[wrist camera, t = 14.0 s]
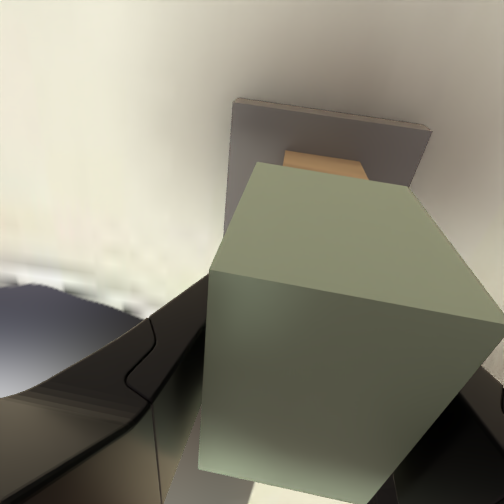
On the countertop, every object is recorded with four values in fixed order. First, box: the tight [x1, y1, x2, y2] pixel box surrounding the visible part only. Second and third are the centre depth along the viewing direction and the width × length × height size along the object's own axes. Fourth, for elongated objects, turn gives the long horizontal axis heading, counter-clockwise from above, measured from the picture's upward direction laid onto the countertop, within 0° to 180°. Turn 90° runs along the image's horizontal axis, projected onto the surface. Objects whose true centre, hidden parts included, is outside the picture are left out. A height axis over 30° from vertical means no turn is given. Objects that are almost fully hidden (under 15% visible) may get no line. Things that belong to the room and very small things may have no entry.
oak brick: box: [283, 150, 369, 180], centre depth 16 cm, size 6×4×5 cm, turn 174°
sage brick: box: [198, 162, 504, 504], centre depth 8 cm, size 6×4×5 cm, turn 173°
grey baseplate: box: [223, 98, 432, 237], centre depth 19 cm, size 10×10×2 cm
